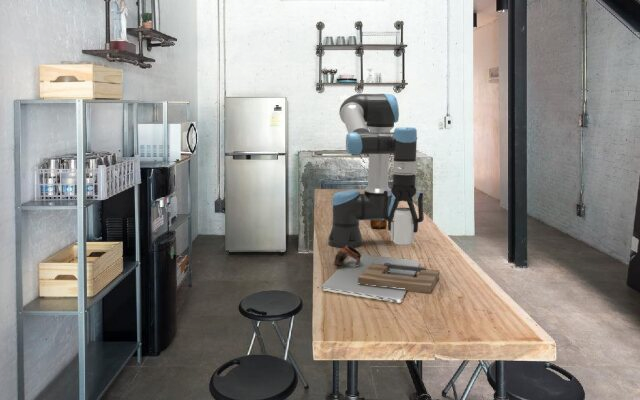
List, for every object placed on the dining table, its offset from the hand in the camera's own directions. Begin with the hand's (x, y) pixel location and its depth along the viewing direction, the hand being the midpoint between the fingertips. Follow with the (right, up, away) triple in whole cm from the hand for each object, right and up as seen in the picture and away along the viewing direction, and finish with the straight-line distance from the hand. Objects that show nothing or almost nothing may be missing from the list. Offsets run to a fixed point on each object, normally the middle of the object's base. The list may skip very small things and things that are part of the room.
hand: (402, 240), depth 181 cm
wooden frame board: (-1, -14, -1) cm, 14 cm away
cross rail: (+2, -13, +7) cm, 14 cm away
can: (0, -1, 0) cm, 1 cm away
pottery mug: (-19, -11, +18) cm, 28 cm away
